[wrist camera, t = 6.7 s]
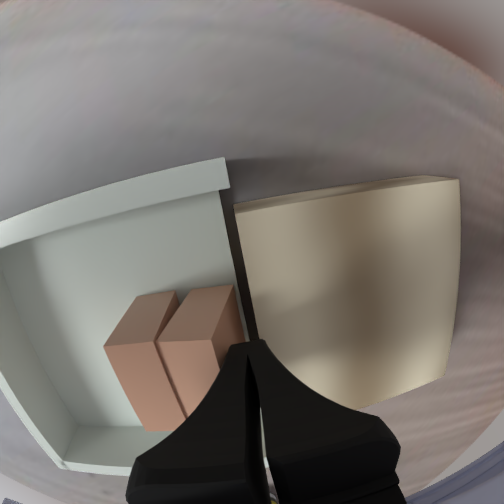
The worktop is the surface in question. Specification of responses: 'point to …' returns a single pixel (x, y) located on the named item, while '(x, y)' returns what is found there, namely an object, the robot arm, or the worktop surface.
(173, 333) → the tile
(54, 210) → the box
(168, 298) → the tile
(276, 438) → the robot arm
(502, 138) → the worktop surface
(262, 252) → the beige block
